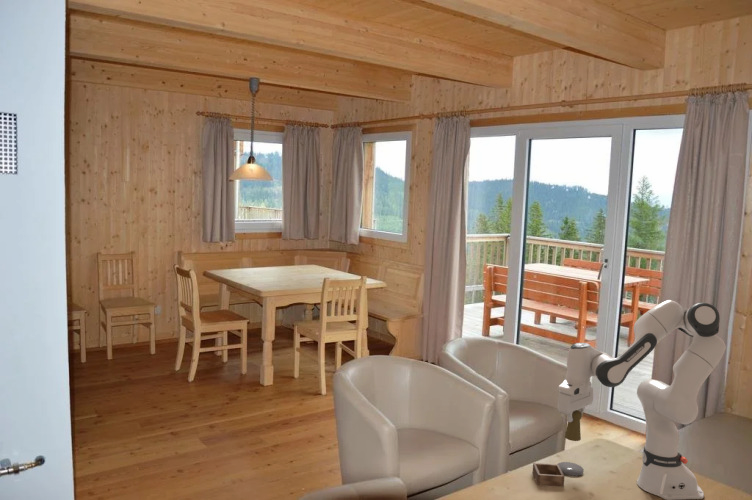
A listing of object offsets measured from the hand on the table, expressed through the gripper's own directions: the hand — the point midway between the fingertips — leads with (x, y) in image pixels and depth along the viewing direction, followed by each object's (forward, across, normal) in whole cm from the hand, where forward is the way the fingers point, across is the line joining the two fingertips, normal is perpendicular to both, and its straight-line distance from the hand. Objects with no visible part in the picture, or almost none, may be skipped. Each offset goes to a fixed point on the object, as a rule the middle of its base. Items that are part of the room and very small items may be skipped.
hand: (574, 419), depth 240 cm
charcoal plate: (+21, 0, 0) cm, 21 cm away
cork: (+8, 0, 0) cm, 8 cm away
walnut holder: (+21, +14, -1) cm, 25 cm away
